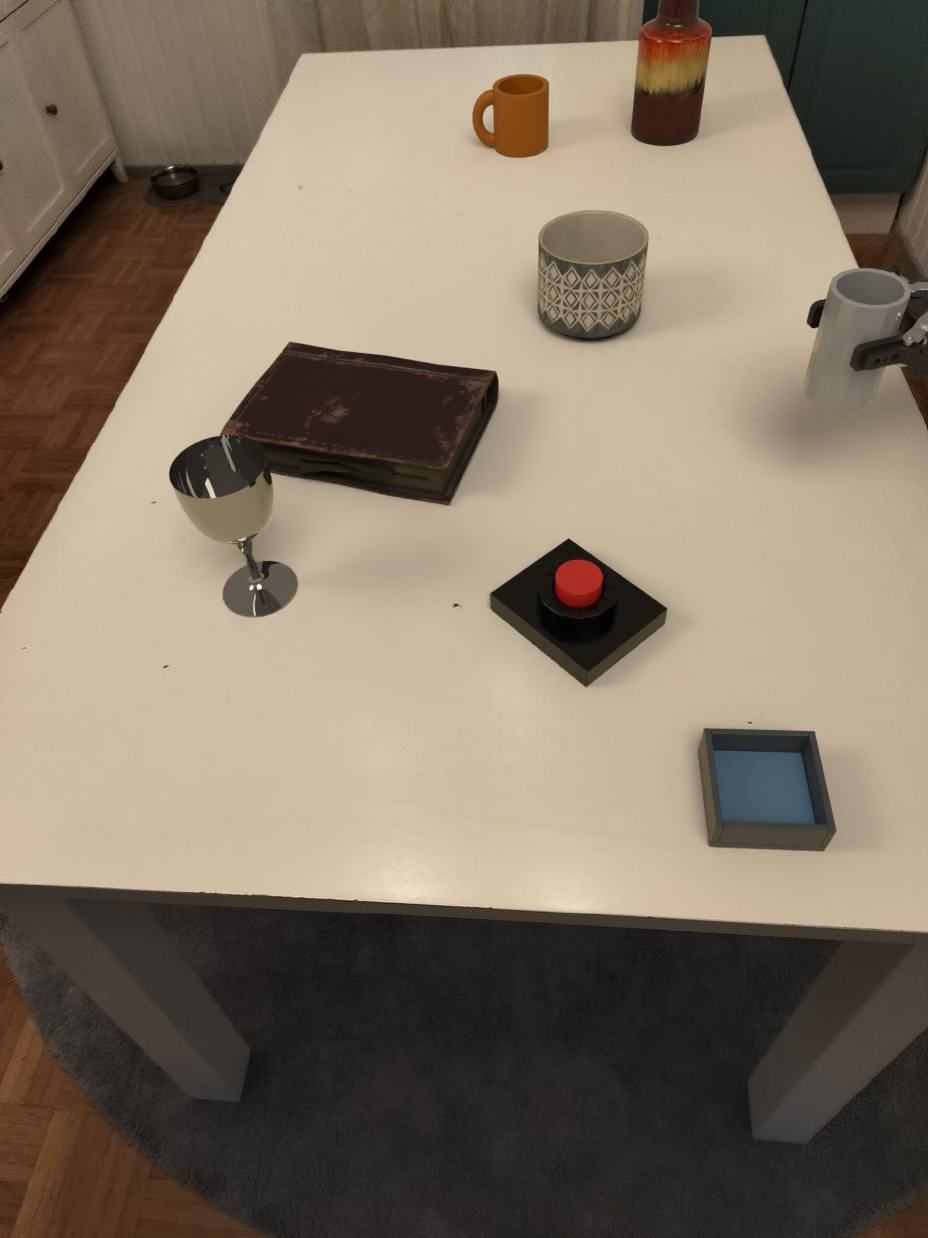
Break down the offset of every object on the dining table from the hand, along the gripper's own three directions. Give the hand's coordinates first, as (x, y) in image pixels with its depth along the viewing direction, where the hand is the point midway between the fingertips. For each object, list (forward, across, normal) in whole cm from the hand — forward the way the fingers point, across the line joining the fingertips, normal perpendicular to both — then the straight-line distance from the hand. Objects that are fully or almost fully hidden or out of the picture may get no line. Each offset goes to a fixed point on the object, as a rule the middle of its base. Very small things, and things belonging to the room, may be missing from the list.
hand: (832, 336), depth 75 cm
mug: (0, -88, +17) cm, 90 cm away
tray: (+19, +30, +17) cm, 40 cm away
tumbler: (-2, 0, +6) cm, 6 cm away
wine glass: (+53, -4, +17) cm, 56 cm away
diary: (+38, -23, +17) cm, 48 cm away
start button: (+26, +9, +13) cm, 30 cm away
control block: (+26, +9, +17) cm, 32 cm away
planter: (+7, -36, +17) cm, 41 cm away
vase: (-24, -83, +17) cm, 88 cm away
